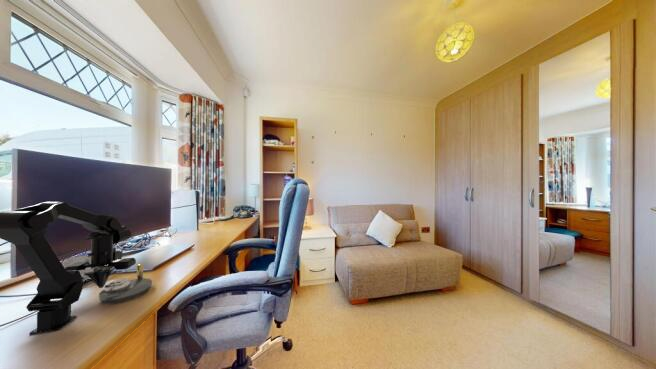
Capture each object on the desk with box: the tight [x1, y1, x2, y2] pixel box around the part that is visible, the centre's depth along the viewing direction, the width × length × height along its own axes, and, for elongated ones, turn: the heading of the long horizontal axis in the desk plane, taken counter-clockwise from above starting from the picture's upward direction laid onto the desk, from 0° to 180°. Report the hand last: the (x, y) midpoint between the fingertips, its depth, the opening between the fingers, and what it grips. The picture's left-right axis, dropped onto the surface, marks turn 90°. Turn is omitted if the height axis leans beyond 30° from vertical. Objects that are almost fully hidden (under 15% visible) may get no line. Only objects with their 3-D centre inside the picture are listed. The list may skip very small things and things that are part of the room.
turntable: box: [98, 263, 153, 302], centre depth 81 cm, size 17×15×8 cm
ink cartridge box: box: [61, 251, 91, 282], centre depth 90 cm, size 10×6×14 cm, turn 145°
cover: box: [104, 278, 131, 293], centre depth 79 cm, size 7×7×3 cm
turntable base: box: [102, 288, 150, 305], centre depth 80 cm, size 13×13×1 cm
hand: (101, 287), depth 77 cm, fingers closed
